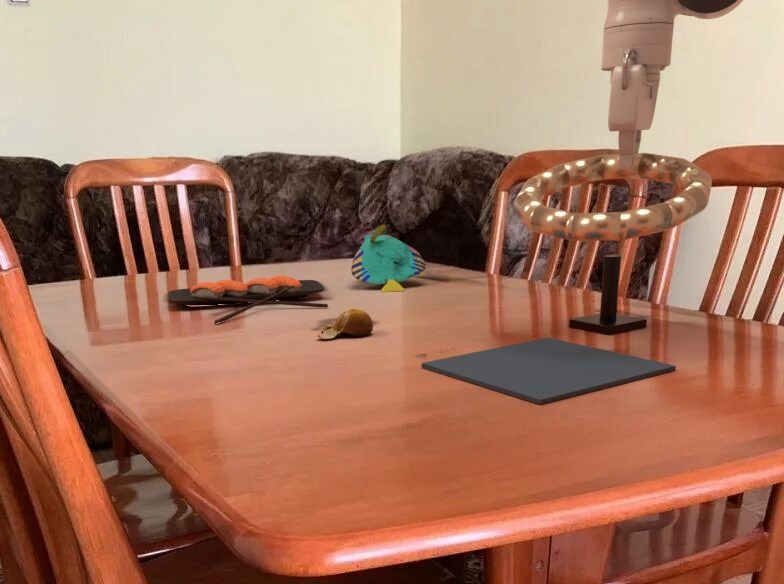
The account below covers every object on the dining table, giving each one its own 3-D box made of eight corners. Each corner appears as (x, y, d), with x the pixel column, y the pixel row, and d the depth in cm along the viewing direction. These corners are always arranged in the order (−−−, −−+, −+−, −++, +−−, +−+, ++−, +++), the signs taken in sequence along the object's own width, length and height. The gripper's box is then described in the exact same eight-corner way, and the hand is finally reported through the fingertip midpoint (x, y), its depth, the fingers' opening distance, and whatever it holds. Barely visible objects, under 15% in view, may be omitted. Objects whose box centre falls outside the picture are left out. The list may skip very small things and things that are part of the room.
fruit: (322, 329, 130) (320, 305, 128) (375, 328, 129) (374, 304, 128) (316, 341, 122) (314, 316, 121) (371, 339, 122) (370, 314, 120)
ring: (538, 177, 122) (537, 154, 120) (715, 170, 113) (717, 146, 111) (497, 246, 105) (495, 220, 103) (701, 243, 96) (704, 216, 94)
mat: (547, 341, 116) (548, 337, 116) (675, 370, 100) (676, 365, 99) (421, 367, 106) (421, 362, 106) (540, 405, 89) (540, 399, 89)
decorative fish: (346, 209, 168) (419, 204, 168) (349, 262, 177) (419, 258, 178) (352, 266, 156) (431, 261, 156) (355, 320, 165) (429, 315, 166)
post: (605, 319, 128) (611, 250, 124) (646, 327, 122) (653, 255, 118) (568, 327, 125) (572, 256, 120) (608, 335, 119) (614, 261, 114)
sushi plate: (316, 288, 168) (315, 269, 166) (342, 314, 141) (340, 291, 139) (170, 299, 162) (167, 279, 161) (168, 328, 136) (164, 304, 134)
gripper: (653, 44, 99) (643, 170, 105) (667, 56, 116) (658, 164, 122) (600, 49, 102) (593, 171, 107) (621, 60, 119) (614, 165, 124)
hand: (627, 167), depth 115 cm, fingers closed on ring, 3 cm apart
